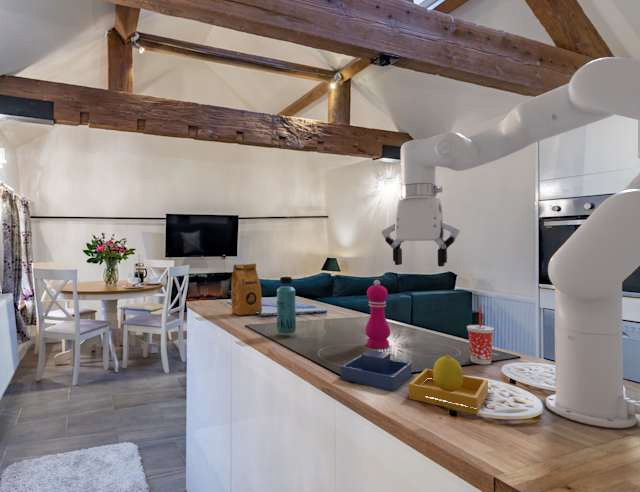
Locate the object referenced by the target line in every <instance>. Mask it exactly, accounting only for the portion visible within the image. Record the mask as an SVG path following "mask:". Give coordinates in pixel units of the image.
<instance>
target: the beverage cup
mask: <svg viewBox="0 0 640 492" xmlns="http://www.w3.org/2000/svg"><path fill="white" fill-rule="evenodd" d="M466 330H467V332H468V345H469V356H470V362H471V363H474V364H479V365H490V364H492V355H493V354H492V353H493V336H494V333H495V332H494V331H495V328H494V327H492V326H488V325H483V324H482V308H481V307H479V308H478V324H469V325H466Z"/></svg>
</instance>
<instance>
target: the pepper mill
mask: <svg viewBox="0 0 640 492" xmlns="http://www.w3.org/2000/svg"><path fill="white" fill-rule="evenodd" d="M366 296H367V299H368V306H369V308H370V315H369V318H368V320H367V322H366V325H365V329H364V333H365V335H366V336H367V337H368V338H367V339H366V344H367V347H369V348H373V349H379V350H381V349H387V348H389V347H390V341H389V339H388V338H389V337H390V336H391V328H390V325H389V323H388V321H387V318H386V315H385V307H387V301H386V299H387V298H388V289H387V288H386V287H384V286H383V285H381V282H380V280H379V279H375V280H374V281H373V285H371V286H369V287H368V288H367V290H366Z"/></svg>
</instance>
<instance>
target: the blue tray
mask: <svg viewBox="0 0 640 492" xmlns="http://www.w3.org/2000/svg"><path fill="white" fill-rule="evenodd" d="M361 355H362V354H360V355H358V356H356V357H355V358H352V359H351V360H349V361H347V362H346V363H344V364H343V365H341V366H340V379H341V380H343V381H348V382H352V383H357V384H361V385H366V386H370V387H374V388H378V389H383V390H387V391H391V392H394V391H396V390H397V389H398V388H400V386H402V384H404V383H405V382H406V381H407V380H408V379H410V378H411V377H412V363H411V362H407V361H401V360H394V359H391V358H390V375H384V374H379V373H375V372H370V371H365V370H362V358H361Z"/></svg>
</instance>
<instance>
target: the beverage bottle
mask: <svg viewBox="0 0 640 492" xmlns="http://www.w3.org/2000/svg"><path fill="white" fill-rule="evenodd" d="M279 283H280V284H282V286H279V287H278V288H277V289H276V331H277V333H279V334H288V335H289V334H294V333H296V329H297V325H296V323H297V321H296V320H297V315H296V314H297V312H296V311H297V310H296V289H295V288H294V287H293V286H289V284H293V278H292V276H281V277H280V278H279ZM287 284H288V286H287ZM285 285H286V286H285Z"/></svg>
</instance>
